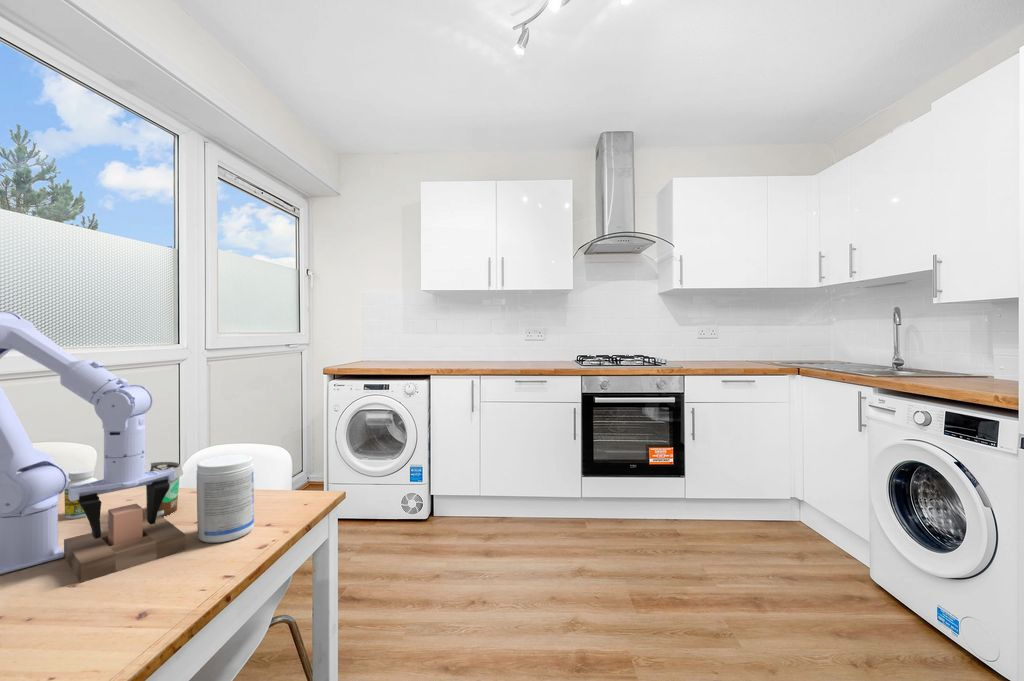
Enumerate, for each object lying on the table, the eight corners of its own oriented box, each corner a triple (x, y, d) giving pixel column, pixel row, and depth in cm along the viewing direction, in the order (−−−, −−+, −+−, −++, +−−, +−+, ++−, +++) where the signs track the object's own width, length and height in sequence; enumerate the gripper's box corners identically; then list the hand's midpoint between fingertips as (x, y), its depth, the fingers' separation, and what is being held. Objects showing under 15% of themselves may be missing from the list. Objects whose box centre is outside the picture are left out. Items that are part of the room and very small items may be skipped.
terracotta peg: (108, 554, 82) (108, 509, 82) (136, 546, 85) (136, 503, 85) (113, 561, 80) (113, 515, 80) (142, 552, 83) (142, 508, 83)
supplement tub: (264, 528, 93) (264, 456, 93) (219, 548, 84) (219, 469, 84) (231, 521, 97) (231, 451, 97) (185, 539, 88) (185, 463, 88)
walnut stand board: (63, 556, 81) (63, 539, 81) (160, 530, 92) (160, 515, 92) (80, 582, 73) (80, 563, 73) (184, 550, 84) (184, 533, 84)
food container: (182, 517, 99) (182, 471, 99) (146, 523, 95) (145, 476, 95) (184, 500, 109) (184, 458, 109) (151, 505, 106) (151, 462, 105)
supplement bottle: (104, 510, 102) (104, 468, 102) (78, 520, 97) (78, 475, 97) (84, 509, 103) (84, 466, 103) (57, 518, 98) (57, 473, 98)
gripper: (74, 466, 74) (74, 550, 74) (180, 449, 86) (180, 522, 86) (65, 459, 78) (65, 538, 79) (168, 444, 90) (167, 513, 90)
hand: (124, 529), depth 82 cm, fingers open, 7 cm apart
